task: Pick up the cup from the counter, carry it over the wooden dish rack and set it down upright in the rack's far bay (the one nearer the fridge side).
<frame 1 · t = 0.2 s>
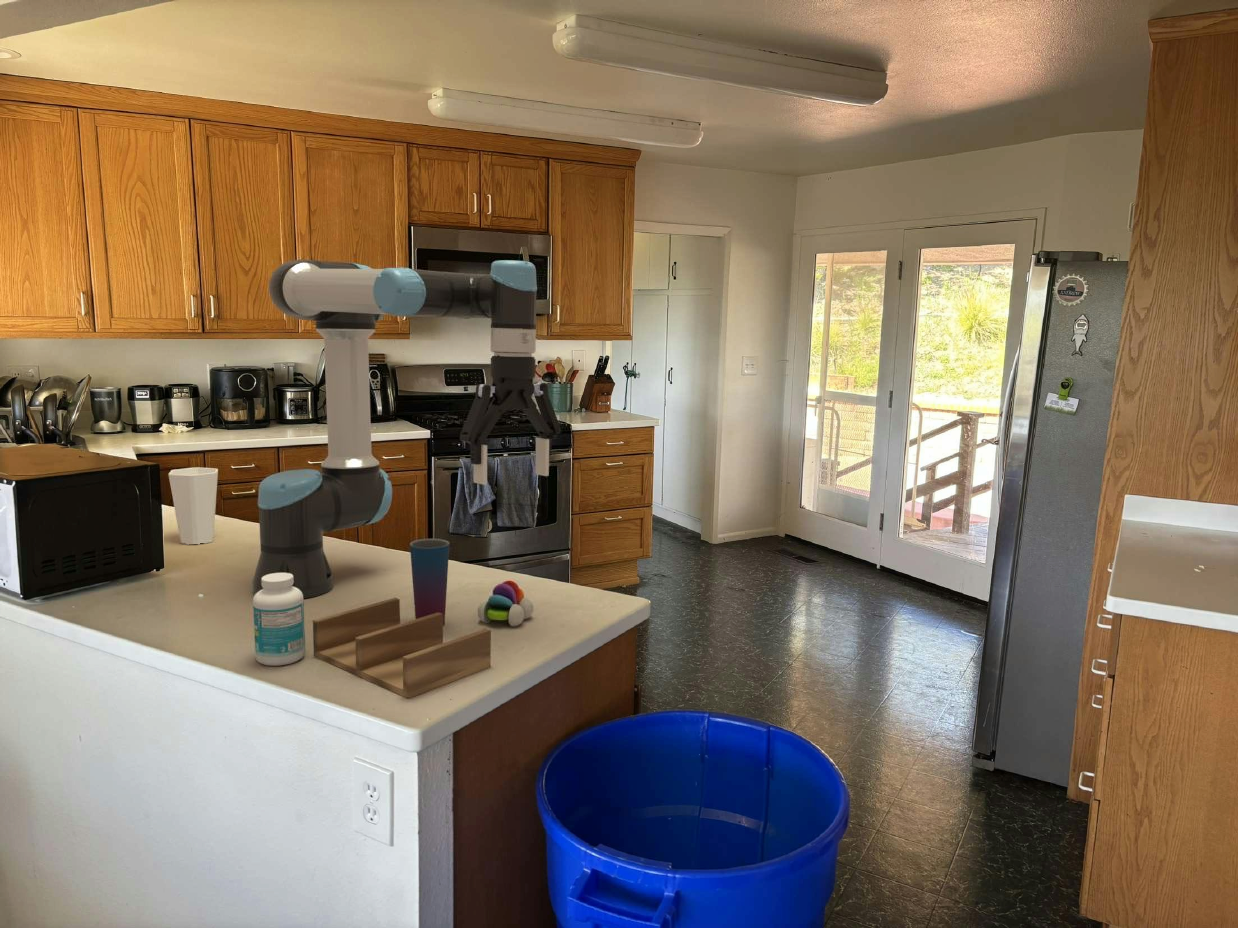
hand: (512, 479, 149), 27 cm above the table, fingers open, 13 cm apart
cup 2: (197, 542, 207), on the table
rainbow disc stack: (505, 621, 158), on the table
cup: (430, 625, 155), on the table
pill bottle: (280, 659, 138), on the table
rack: (401, 661, 138), on the table
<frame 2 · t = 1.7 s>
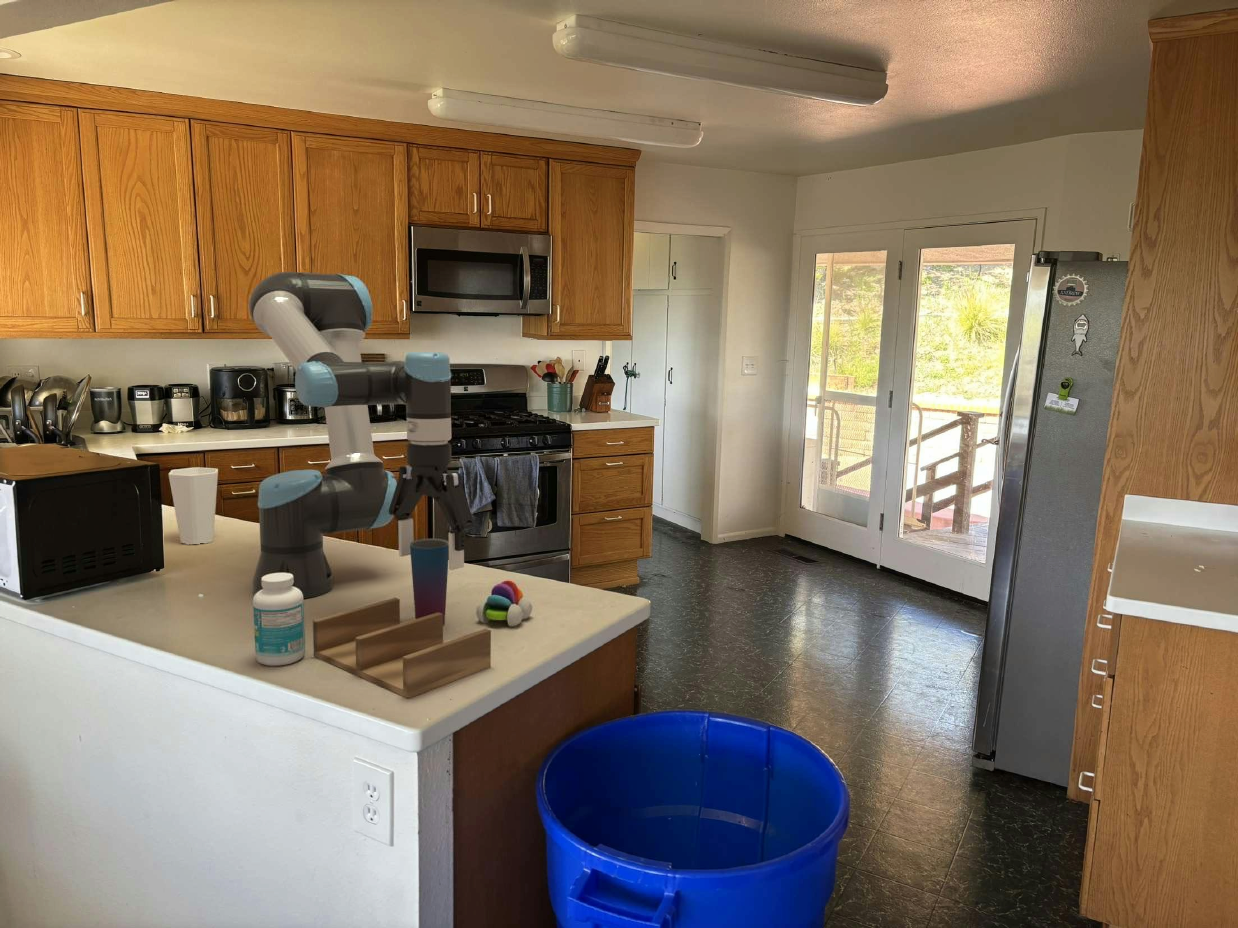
hand: (430, 561, 153), 12 cm above the table, fingers open, 13 cm apart
nothing on the table moved.
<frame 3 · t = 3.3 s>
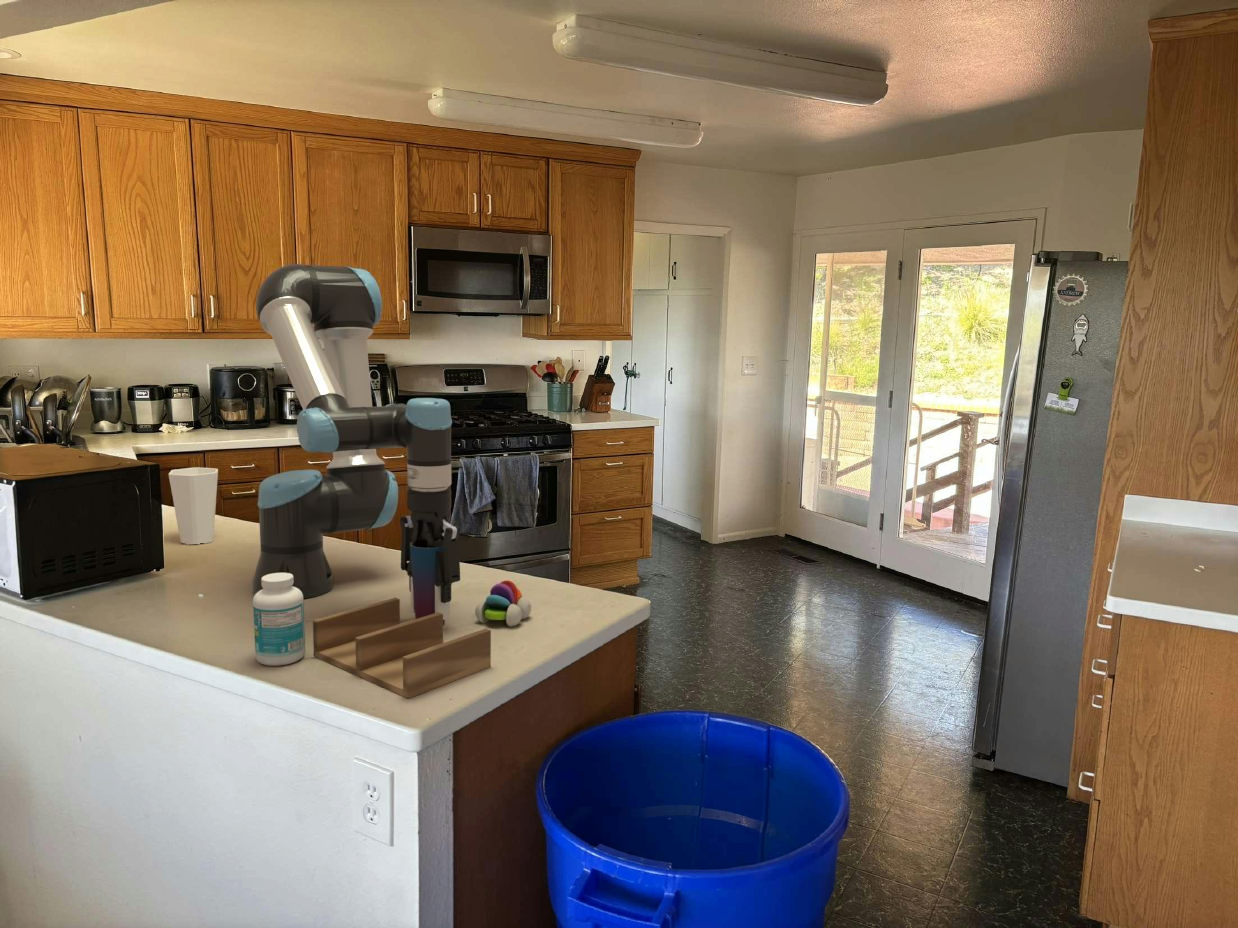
hand: (430, 614, 154), 2 cm above the table, fingers closed on cup, 6 cm apart
cup: (430, 625, 155), on the table, touching gripper
everything else where it was.
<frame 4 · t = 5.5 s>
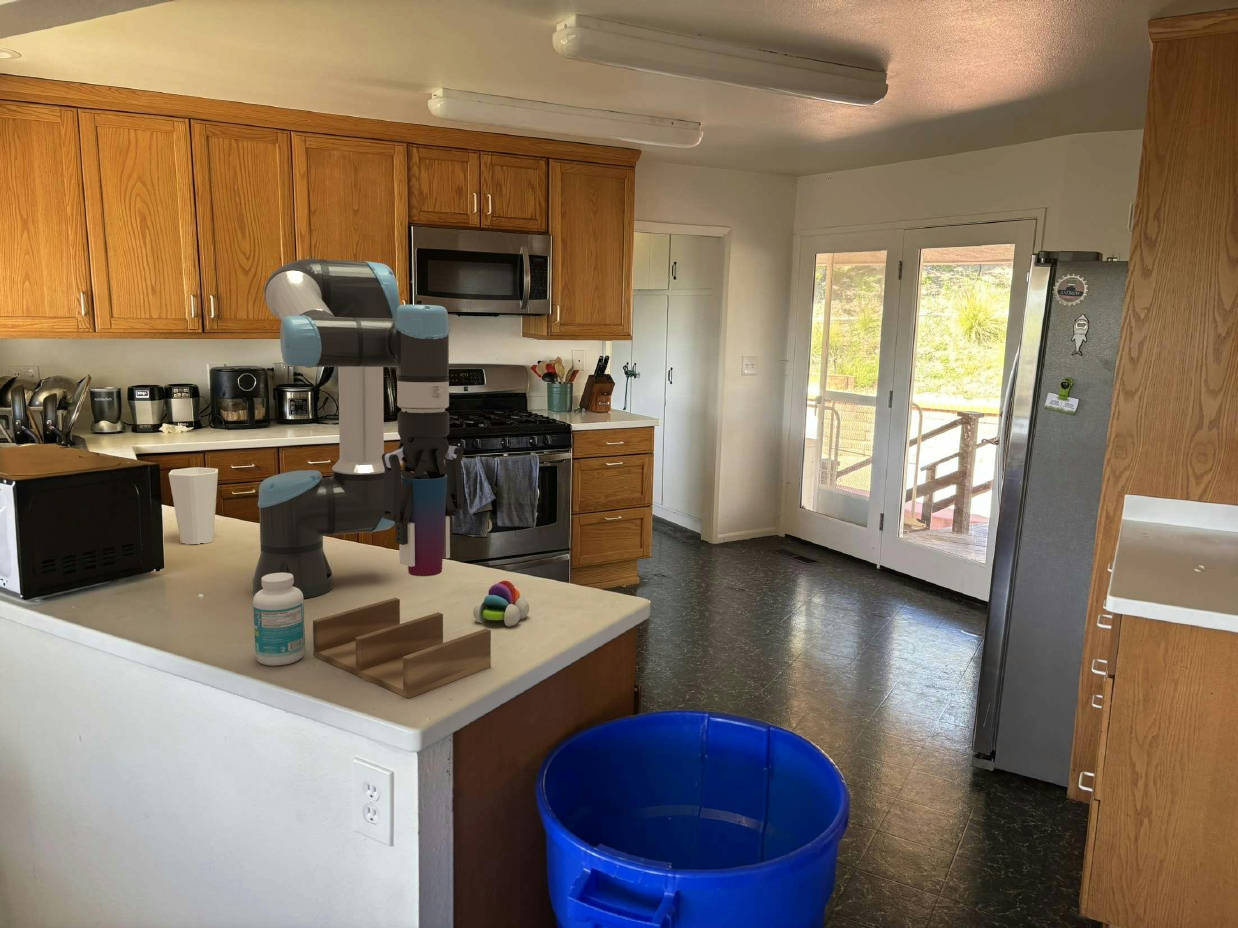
hand: (425, 560, 133), 17 cm above the table, fingers closed on cup, 6 cm apart
cup: (425, 573, 133), point 15 cm above the table, touching gripper
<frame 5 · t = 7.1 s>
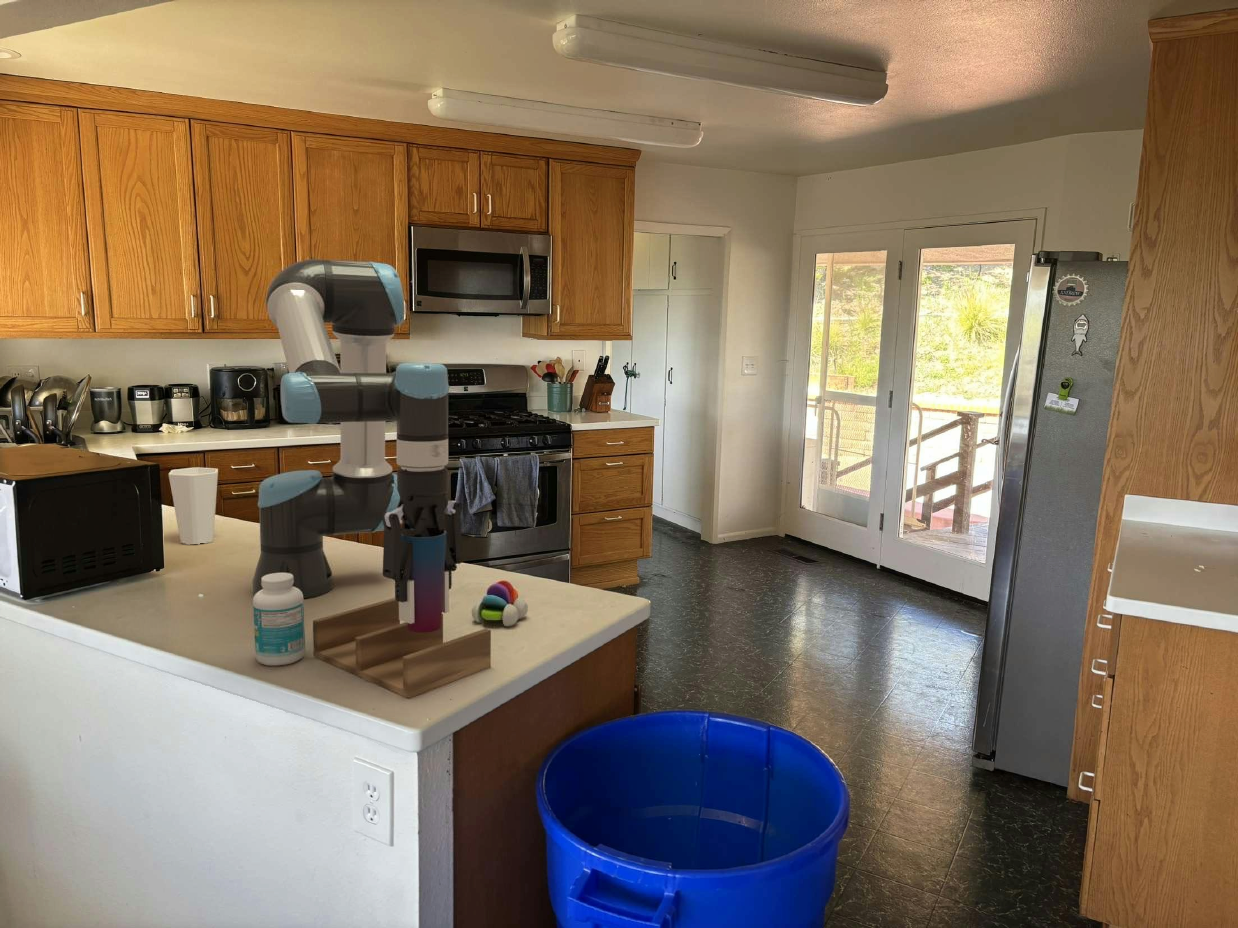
hand: (424, 615, 133), 9 cm above the table, fingers closed on cup, 6 cm apart
cup: (424, 628, 133), point 7 cm above the table, touching gripper
when the fingers open (5 cm above the table, at t = 8.2 s): cup drops 2 cm, resting on rack.
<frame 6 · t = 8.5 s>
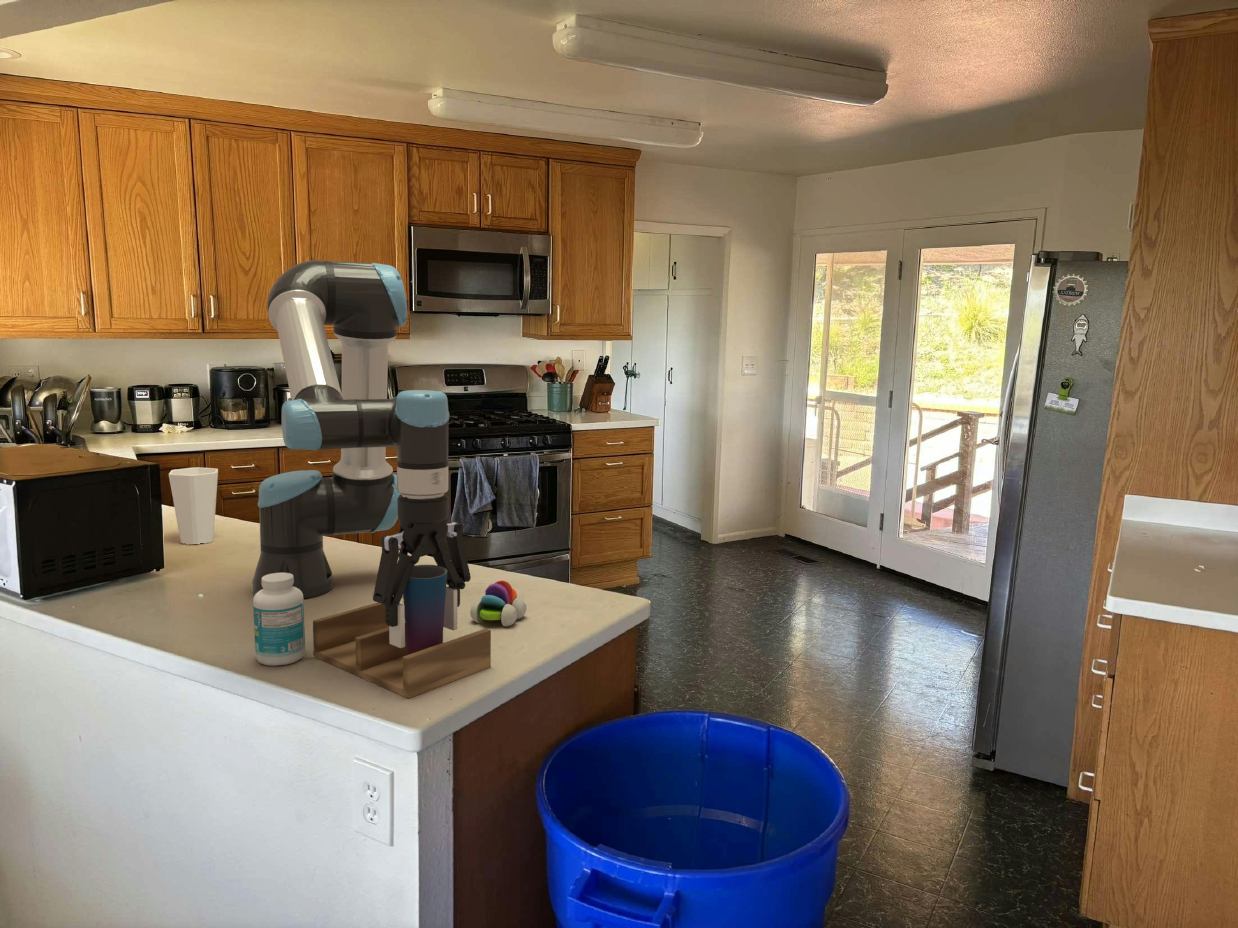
hand: (424, 636, 133), 6 cm above the table, fingers open, 9 cm apart
cup: (424, 665, 134), point 1 cm above the table, touching rack
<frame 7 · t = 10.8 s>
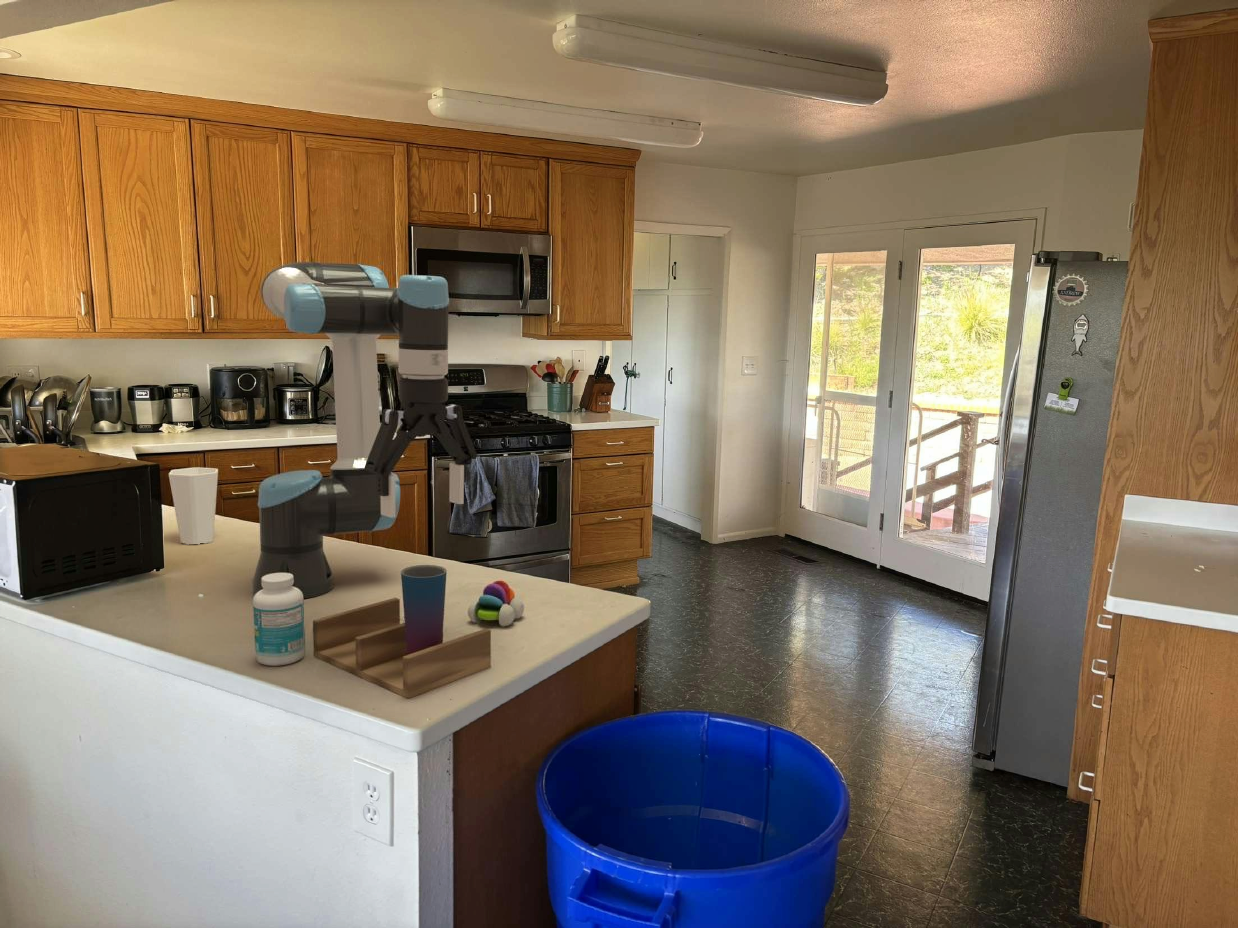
hand: (423, 509, 139), 24 cm above the table, fingers open, 13 cm apart
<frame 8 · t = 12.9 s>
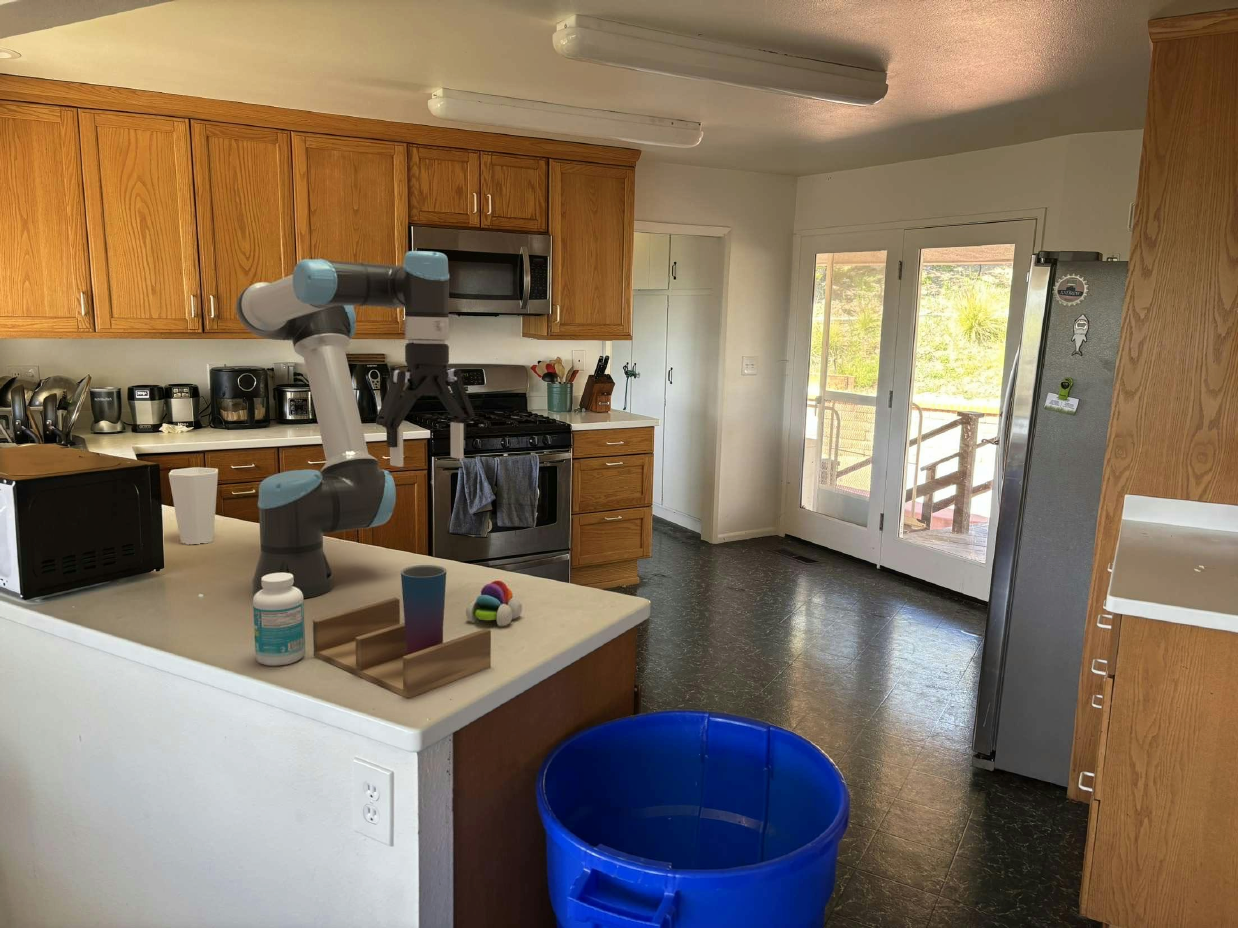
hand: (427, 461, 155), 29 cm above the table, fingers open, 13 cm apart
at the end: cup inside the target area (0.4 cm from its centre), point 0.8 cm above the table; cup tilted 0°; the gripper is holding nothing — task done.
